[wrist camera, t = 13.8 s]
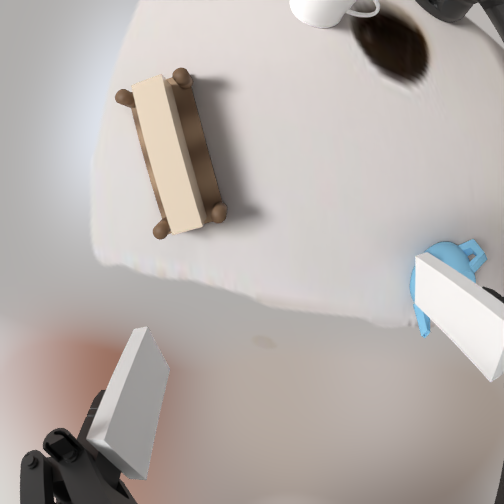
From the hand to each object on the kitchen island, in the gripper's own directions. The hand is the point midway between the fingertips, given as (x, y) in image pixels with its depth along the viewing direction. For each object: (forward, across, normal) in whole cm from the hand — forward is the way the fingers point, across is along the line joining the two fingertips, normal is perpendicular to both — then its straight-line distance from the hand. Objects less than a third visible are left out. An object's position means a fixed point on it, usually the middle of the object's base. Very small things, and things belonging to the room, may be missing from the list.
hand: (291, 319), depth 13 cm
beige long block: (+30, -9, +10) cm, 32 cm away
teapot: (+31, +31, -21) cm, 49 cm away
